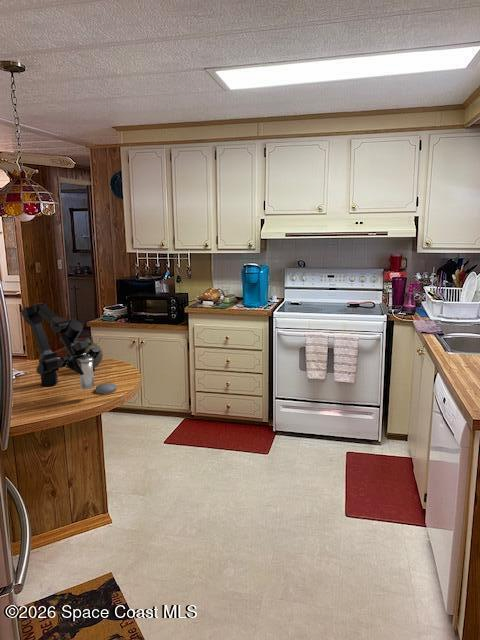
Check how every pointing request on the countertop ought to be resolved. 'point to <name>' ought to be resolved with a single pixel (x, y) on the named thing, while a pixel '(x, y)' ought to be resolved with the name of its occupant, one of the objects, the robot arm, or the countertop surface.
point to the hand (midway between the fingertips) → (88, 372)
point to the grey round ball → (99, 357)
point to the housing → (86, 372)
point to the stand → (105, 388)
